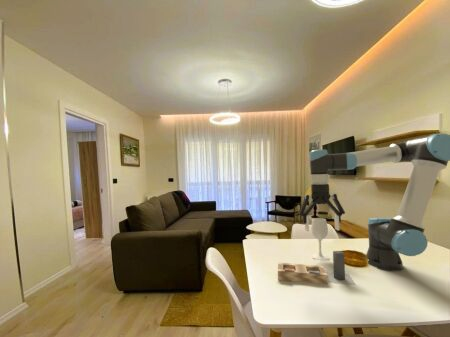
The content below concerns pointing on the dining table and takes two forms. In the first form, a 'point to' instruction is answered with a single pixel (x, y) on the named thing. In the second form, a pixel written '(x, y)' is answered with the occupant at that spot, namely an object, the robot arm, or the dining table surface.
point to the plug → (339, 265)
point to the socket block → (302, 273)
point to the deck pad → (347, 280)
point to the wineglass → (319, 235)
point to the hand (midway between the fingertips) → (322, 230)
